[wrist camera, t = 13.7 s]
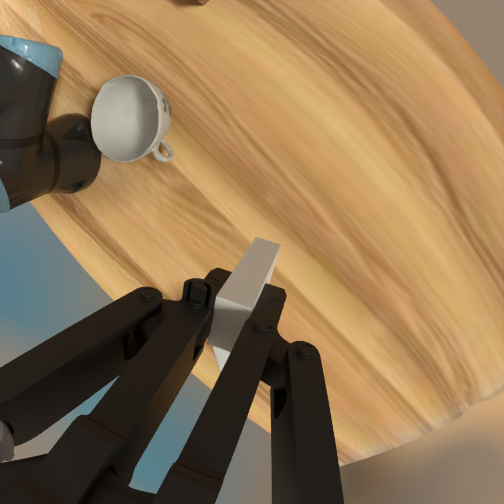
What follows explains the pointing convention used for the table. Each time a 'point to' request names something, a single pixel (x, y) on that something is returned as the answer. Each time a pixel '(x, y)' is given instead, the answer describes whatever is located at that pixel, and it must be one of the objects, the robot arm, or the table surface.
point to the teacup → (131, 119)
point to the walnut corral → (203, 1)
